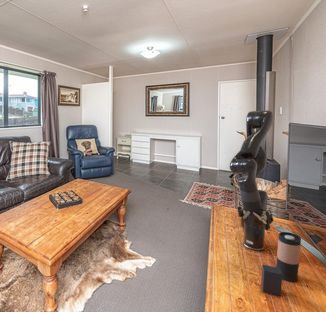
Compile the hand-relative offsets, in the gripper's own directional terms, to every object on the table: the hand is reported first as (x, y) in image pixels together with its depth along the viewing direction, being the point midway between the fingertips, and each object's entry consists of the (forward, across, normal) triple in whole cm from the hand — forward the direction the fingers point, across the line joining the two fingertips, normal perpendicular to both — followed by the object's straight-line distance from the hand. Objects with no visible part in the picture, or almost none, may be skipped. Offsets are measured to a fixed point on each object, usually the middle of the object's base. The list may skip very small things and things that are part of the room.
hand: (257, 226), depth 112 cm
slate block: (+16, -11, +19) cm, 27 cm away
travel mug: (+20, -10, +4) cm, 23 cm away
